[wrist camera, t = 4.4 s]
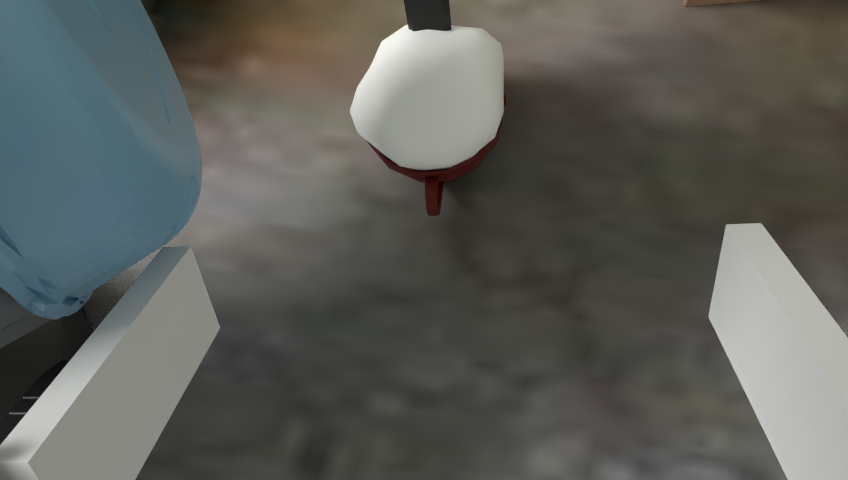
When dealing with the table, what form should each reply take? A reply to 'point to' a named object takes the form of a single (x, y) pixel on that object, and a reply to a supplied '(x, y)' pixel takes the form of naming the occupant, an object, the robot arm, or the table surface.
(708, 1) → the tower base
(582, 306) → the table surface
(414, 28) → the cocoa
